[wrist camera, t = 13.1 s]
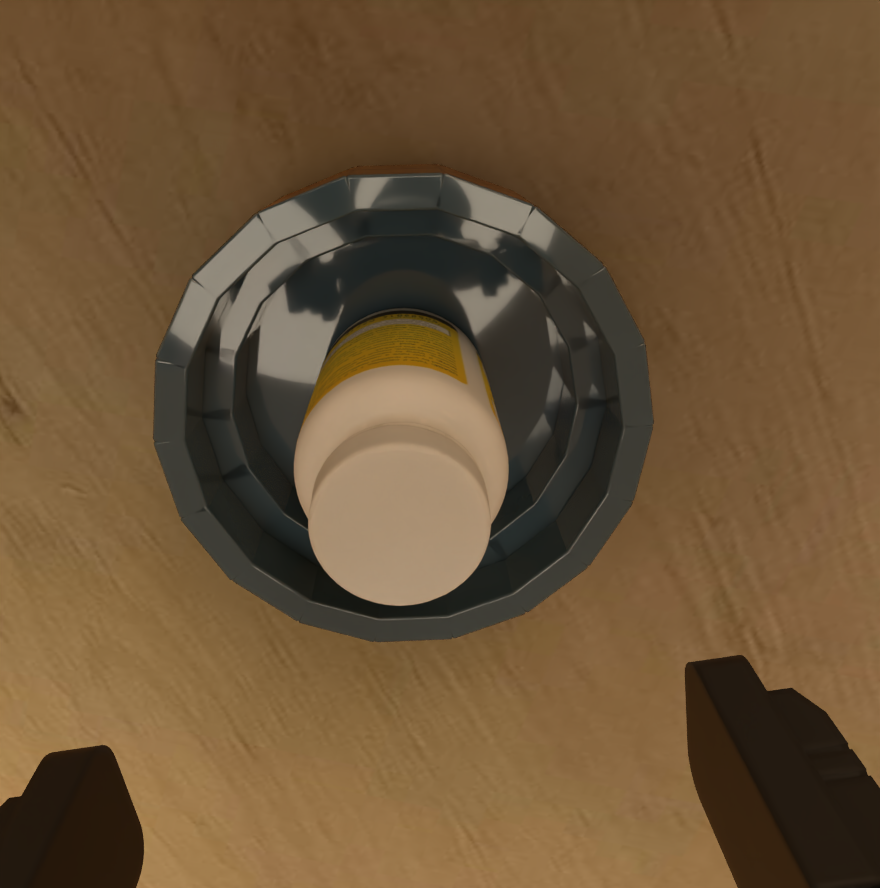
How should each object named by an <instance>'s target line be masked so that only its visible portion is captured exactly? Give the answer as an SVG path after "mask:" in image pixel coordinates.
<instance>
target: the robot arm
mask: <svg viewBox="0 0 880 888" xmlns="http://www.w3.org/2000/svg"><path fill="white" fill-rule="evenodd" d="M685 691H686V716H687V742H688V756H689V762H690V768H691V772H692V777H693V780H694V784H695V787H696V790H697V793H698V796H699V799H700V801H701V803H702V806H703V808H704V810H705V813H706V815H707V817H708V820H709V822H710V824H711V827H712V829H713V831H714V834H715V836H716V838H717V840H718V843H719V845H720V847H721V850H722V852H723V854H724V857H725V859H726V861H727V864H728V866H729V868H730V871H731V873H732V875H733V878H734V880H735V882H736V884H737V887H738V888H880V788H879V787H878V785H877V784H876V782H875V781H874V779H873V778H872V777H871V776H868V775H867V772H866V768H865V767H864V765H863V764H862V762H861V761H860V760H859V758H858V757H857V755H856V754H855V753H854V751H853V750H852V749H849V747H848V743H847V741H846V740H845V738H844V737H843V736H842V734H841V733H840V731H839V730H838V729H837V727H836V726H835V724H834V723H833V721H832V720H831V719H830V717H829V716H828V714H827V713H826V712H825V711H824V710H822V709H821V708H819V707H818V706H817V705H815V704H814V703H812V702H811V701H810V700H808V699H807V698H805V697H804V696H802V695H801V694H800V693H798V692H797V691H795V690H794V689H793V688H787V689H780V690H773V691H767V690H766V689H765V687H764V685H763V684H762V682H761V681H760V679H759V677H758V676H757V674H756V673H755V671H754V669H753V668H752V666H751V665H750V663H749V662H748V660H747V659H746V658H745V657H744V656H742V655H737V656H730V657H723V658H716V659H709V660H702V661H695V662H688V663H687V664H686V668H685ZM143 856H144V840H143V832H142V828H141V824H140V821H139V819H138V816H137V813H136V811H135V808H134V806H133V803H132V800H131V798H130V795H129V792H128V790H127V787H126V784H125V782H124V779H123V776H122V774H121V771H120V768H119V766H118V763H117V760H116V758H115V756H114V753H113V752H112V750H111V749H110V748H109V747H108V746H106V745H100V746H93V747H87V748H80V749H73V750H66V751H59V752H52V753H49V754H48V755H46V756H45V757H44V758H43V759H42V761H41V762H40V764H39V766H38V767H37V769H36V771H35V773H34V775H33V776H32V778H31V780H30V782H29V783H28V785H27V787H26V789H25V790H24V792H23V794H22V796H20V797H13V798H9V799H8V800H7V801H6V802H5V803H3V804H2V805H1V806H0V888H136V886H137V883H138V880H139V877H140V874H141V870H142V865H143Z"/></svg>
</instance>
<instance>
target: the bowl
mask: <svg viewBox="0 0 880 888" xmlns="http://www.w3.org/2000/svg"><path fill="white" fill-rule="evenodd" d="M396 308H410V309H418V310H423V311H427V312H430V313H433V314H435V315H438V316H440V317H442V318H444V319H446V320H447V321H449V322H450V323H452V324H453V325H455V326H456V327H457V328H459V329H460V330H461V331H462V332H463V333H464V334H465V335H466V336H467V337H468V339H469V340H470V341H471V343H472V344H473V345H474V347H475V349H476V350H477V352H478V354H479V356H480V358H481V361H482V363H483V366H484V368H485V372H486V375H487V378H488V382H489V385H490V389H491V392H492V397H493V399H494V404H495V407H496V411H497V415H498V418H499V422H500V425H501V429H502V432H503V435H504V439H505V443H506V448H507V454H508V465H509V472H508V483H507V489H506V493H505V497H504V500H503V503H502V505H501V507H500V510H499V512H498V514H497V516H496V518H495V519H494V521H493V522H492V524H491V531H490V537H489V542H488V545H487V548H486V551H485V553H484V556H483V558H482V560H481V561H480V563H479V565H478V566H477V568H476V569H475V571H474V572H473V573H472V574H471V575H470V576H469V577H468V578H467V579H466V580H465V581H464V582H463V583H462V584H460V585H459V586H458V587H457V588H455V589H454V590H452V591H450V592H449V593H447V594H446V595H443V596H441V597H438V598H436V599H433V600H431V601H428V602H424V603H420V604H415V605H404V606H395V605H385V604H379V603H375V602H372V601H368V600H365V599H362V598H360V597H358V596H356V595H354V594H352V593H350V592H349V591H347V590H345V589H344V588H342V587H341V586H340V585H339V584H337V583H336V582H335V581H334V580H333V579H332V578H331V577H330V576H329V575H328V574H327V573H326V571H325V570H324V569H323V567H322V566H321V564H320V563H319V561H318V559H317V557H316V556H315V554H314V551H313V548H312V546H311V542H310V538H309V531H308V518H307V516H306V515H305V513H304V510H303V508H302V506H301V504H300V501H299V498H298V495H297V490H296V486H295V480H294V458H295V450H296V444H297V440H298V436H299V433H300V430H301V427H302V424H303V421H304V418H305V415H306V411H307V408H308V405H309V402H310V400H311V397H312V394H313V391H314V388H315V385H316V382H317V379H318V376H319V373H320V370H321V367H322V364H323V362H324V360H325V357H326V355H327V354H328V352H329V351H330V349H331V347H332V346H333V344H334V343H335V342H336V340H337V339H338V338H339V337H340V336H341V334H342V333H344V332H345V331H346V330H347V329H348V328H349V327H350V326H351V325H353V324H354V323H356V322H357V321H359V320H361V319H362V318H364V317H366V316H368V315H371V314H373V313H376V312H379V311H383V310H388V309H396ZM156 357H157V358H156V360H155V383H154V420H153V439H154V446H155V449H156V452H157V454H158V457H159V460H160V463H161V466H162V468H163V471H164V474H165V477H166V480H167V482H168V485H169V488H170V491H171V494H172V496H173V499H174V502H175V505H176V508H177V510H178V513H179V516H180V517H181V521H182V522H183V523H184V524H185V526H186V527H187V528H188V529H189V530H190V532H191V533H192V534H193V535H194V537H195V538H196V539H197V540H198V541H199V543H200V544H201V545H202V546H203V547H204V549H205V550H206V551H207V552H208V553H209V555H210V556H211V557H212V558H213V560H214V561H215V562H216V563H217V564H218V566H219V567H220V568H221V569H222V570H223V572H224V573H225V574H226V575H227V576H228V578H229V579H230V580H233V581H234V582H235V583H236V584H238V585H240V586H241V587H243V588H244V589H246V590H248V591H249V592H251V593H252V594H254V595H256V596H257V597H259V598H260V599H262V600H264V601H265V602H267V603H268V604H270V605H272V606H273V607H275V608H276V609H278V610H280V611H281V612H283V613H284V614H286V615H288V616H289V617H291V618H292V619H294V620H296V621H299V622H300V623H302V624H306V625H310V626H313V627H317V628H321V629H325V630H329V631H333V632H336V633H340V634H344V635H348V636H352V637H356V638H360V639H363V640H367V641H371V642H374V641H375V642H395V641H420V640H444V639H452V637H453V638H457V637H460V636H463V635H466V634H469V633H472V632H474V631H477V630H480V629H483V628H486V627H489V626H492V625H495V624H497V623H500V622H503V621H506V620H509V619H512V618H515V617H518V616H520V615H523V614H525V612H529V611H530V610H532V609H533V608H534V607H536V606H537V605H538V604H540V603H541V602H542V601H544V600H545V599H546V598H548V597H549V596H550V595H552V594H553V593H554V592H556V591H557V590H558V589H560V588H561V587H562V586H564V585H565V584H566V583H568V582H569V581H571V580H572V579H573V578H575V577H576V576H577V575H579V574H580V573H581V572H583V571H584V570H585V569H587V567H588V566H589V565H591V563H592V562H593V560H594V559H595V557H596V556H597V554H598V553H599V552H600V550H601V549H602V547H603V546H604V544H605V543H606V541H607V540H608V539H609V537H610V536H611V534H612V533H613V531H614V530H615V528H616V527H617V526H618V524H619V523H620V521H621V520H622V518H623V517H624V515H625V514H626V513H627V511H628V510H629V508H630V507H631V505H632V503H633V502H632V501H633V500H634V498H635V494H636V491H637V487H638V483H639V479H640V475H641V472H642V468H643V464H644V460H645V457H646V453H647V449H648V445H649V441H650V438H651V434H652V430H653V424H654V418H653V409H652V399H651V390H650V381H649V371H648V362H647V353H646V345H645V343H644V339H643V337H642V335H641V333H640V331H639V329H638V327H637V325H636V323H635V321H634V319H633V318H632V316H631V314H630V312H629V310H628V308H627V306H626V304H625V302H624V300H623V298H622V297H621V295H620V293H619V291H618V289H617V287H616V285H615V283H614V281H613V279H612V278H611V276H610V274H609V272H608V270H607V268H606V267H605V266H604V265H603V263H602V262H601V261H600V260H599V259H597V258H596V257H595V256H594V255H593V254H592V253H590V252H589V251H588V250H587V249H586V248H585V247H583V246H582V245H581V244H580V243H579V242H578V241H577V240H575V239H574V238H573V237H572V236H571V235H570V234H568V233H567V232H566V231H565V230H564V229H563V228H561V227H560V226H559V225H558V224H557V223H556V222H554V221H553V220H552V219H551V218H550V217H549V216H548V215H546V214H545V213H544V212H543V211H542V210H541V209H539V208H538V207H537V206H536V205H534V204H533V203H531V202H530V201H528V200H527V199H525V198H524V197H522V196H521V195H520V194H518V193H516V192H514V191H513V190H510V189H507V188H505V187H502V186H499V185H496V184H493V183H491V182H488V181H485V180H482V179H479V178H477V177H474V176H471V175H468V174H465V173H463V172H460V171H457V170H454V169H451V168H449V167H446V166H443V165H437V164H412V165H373V166H357V167H352V168H349V169H347V170H345V171H342V172H340V173H337V174H335V175H333V176H330V177H328V178H325V179H323V180H321V181H318V182H316V183H313V184H311V185H309V186H306V187H304V188H302V189H299V190H297V191H294V192H292V193H290V194H287V195H285V196H282V197H281V198H279V199H278V200H276V201H274V202H273V203H271V204H269V205H268V206H266V207H264V208H263V209H261V210H260V211H258V212H257V213H255V214H254V215H253V216H252V217H251V218H250V219H249V220H248V221H247V222H246V223H245V224H244V225H243V226H242V227H241V228H240V229H239V230H238V231H237V232H236V233H235V234H234V235H232V236H231V237H230V238H229V239H228V240H227V241H226V242H225V243H224V244H223V245H222V246H221V247H220V248H219V249H218V250H217V251H216V252H215V253H214V254H213V255H212V256H211V257H210V258H209V259H208V260H207V261H206V262H205V263H204V264H203V265H202V266H201V267H200V268H199V269H198V270H197V271H196V272H195V273H194V274H192V277H191V278H190V279H189V281H188V283H187V285H186V288H185V290H184V292H183V295H182V297H181V299H180V301H179V304H178V306H177V308H176V311H175V313H174V315H173V317H172V320H171V322H170V324H169V327H168V329H167V331H166V333H165V336H164V338H163V340H162V343H161V345H160V347H159V349H158V352H157V354H156Z"/></svg>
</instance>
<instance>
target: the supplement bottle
mask: <svg viewBox="0 0 880 888" xmlns="http://www.w3.org/2000/svg"><path fill="white" fill-rule="evenodd" d="M508 472H509V465H508V454H507V448H506V443H505V439H504V435H503V432H502V429H501V425H500V422H499V418H498V415H497V411H496V407H495V404H494V399H493V397H492V392H491V389H490V385H489V382H488V378H487V375H486V372H485V368H484V366H483V363H482V361H481V358H480V356H479V354H478V352H477V350H476V349H475V347H474V345H473V344H472V343H471V341H470V340H469V339H468V337H467V336H466V335H465V334H464V333H463V332H462V331H461V330H460V329H459V328H457V327H456V326H455V325H453V324H452V323H450V322H449V321H447V320H446V319H444V318H442V317H440V316H438V315H435V314H433V313H430V312H427V311H423V310H418V309H410V308H396V309H388V310H383V311H379V312H376V313H373V314H371V315H368V316H366V317H364V318H362V319H361V320H359V321H357V322H356V323H354V324H353V325H351V326H350V327H349V328H348V329H347V330H346V331H345V332H344V333H342V334H341V336H340V337H339V338H338V339H337V340H336V342H335V343H334V344H333V346H332V347H331V349H330V351H329V352H328V354H327V355H326V357H325V360H324V362H323V364H322V367H321V370H320V373H319V376H318V379H317V382H316V385H315V388H314V391H313V394H312V397H311V400H310V402H309V405H308V408H307V411H306V415H305V418H304V421H303V424H302V427H301V430H300V433H299V436H298V440H297V444H296V450H295V458H294V480H295V486H296V490H297V495H298V498H299V501H300V504H301V506H302V508H303V510H304V513H305V515H306V516H307V518H308V531H309V538H310V542H311V546H312V548H313V551H314V554H315V556H316V557H317V559H318V561H319V563H320V564H321V566H322V567H323V569H324V570H325V571H326V573H327V574H328V575H329V576H330V577H331V578H332V579H333V580H334V581H335V582H336V583H337V584H339V585H340V586H341V587H342V588H344V589H345V590H347V591H349V592H350V593H352V594H354V595H356V596H358V597H360V598H362V599H365V600H368V601H372V602H375V603H379V604H385V605H395V606H404V605H415V604H420V603H424V602H428V601H431V600H433V599H436V598H438V597H441V596H443V595H446V594H447V593H449V592H450V591H452V590H454V589H455V588H457V587H458V586H459V585H460V584H462V583H463V582H464V581H465V580H466V579H467V578H468V577H469V576H470V575H471V574H472V573H473V572H474V571H475V569H476V568H477V566H478V565H479V563H480V561H481V560H482V558H483V556H484V553H485V551H486V548H487V545H488V542H489V537H490V531H491V524H492V522H493V521H494V519H495V518H496V516H497V514H498V512H499V510H500V507H501V505H502V503H503V500H504V497H505V493H506V489H507V483H508Z"/></svg>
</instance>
